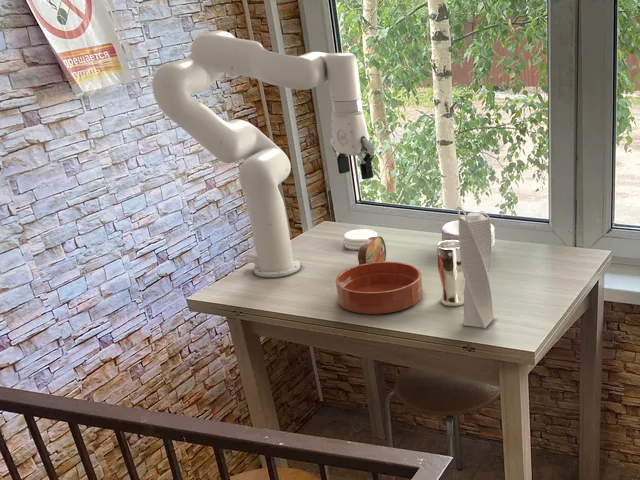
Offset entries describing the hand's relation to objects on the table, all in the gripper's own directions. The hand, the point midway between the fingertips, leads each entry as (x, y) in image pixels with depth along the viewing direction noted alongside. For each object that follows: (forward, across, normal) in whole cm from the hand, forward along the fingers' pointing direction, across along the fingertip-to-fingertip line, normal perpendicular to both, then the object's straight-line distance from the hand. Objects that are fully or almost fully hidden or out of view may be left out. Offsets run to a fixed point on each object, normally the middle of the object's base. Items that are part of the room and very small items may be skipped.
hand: (355, 175), depth 205 cm
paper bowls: (+27, +11, +28) cm, 41 cm away
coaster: (+27, -19, +12) cm, 35 cm away
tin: (+27, 0, +2) cm, 27 cm away
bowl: (+27, +18, -10) cm, 33 cm away
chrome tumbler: (+27, +33, +1) cm, 43 cm away
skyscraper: (+27, +47, -3) cm, 54 cm away
